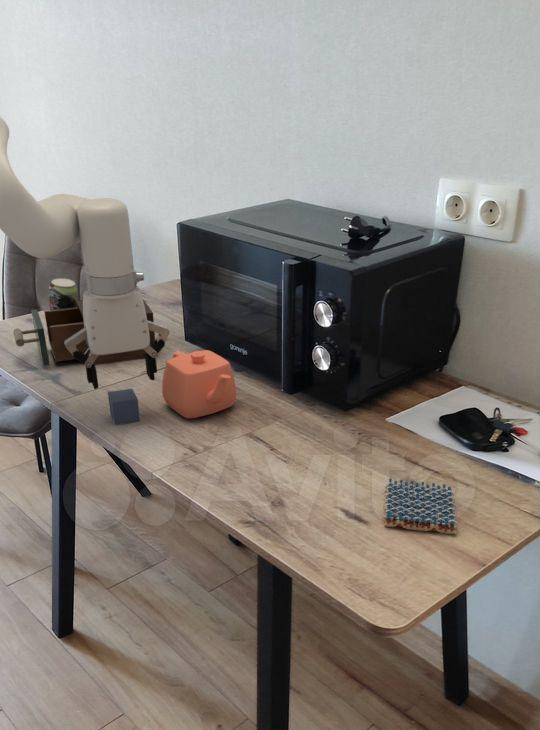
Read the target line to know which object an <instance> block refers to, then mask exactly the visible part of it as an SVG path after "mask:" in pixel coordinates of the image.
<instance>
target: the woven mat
mask: <svg viewBox="0 0 540 730" xmlns="http://www.w3.org/2000/svg"><path fill="white" fill-rule="evenodd" d="M392 481H393V478H388V482H387V483H386V484H385V485H384V489H385V493H384V494H383V496H384V498H385V500H384V503H383V504H382V510H383V511H384V513H383V515H382V519H383V520H384V524H383V525H384V526H383V527H389V528H390V527H391V528H395V527H396V526H397V527H402V528H403V529H406V530H410V531H411V530H412V531H420V532H430V531H434V532H438V533H441V534H447V535H455V536H456V535H457V531H458V530H457V529H455V528H457V527H458V522H459V521H457V519H456V518H457V515H456V514H457V511H456V501H455V498H454V496H455V493H454V490H453V489H452V487H451V486H448V487H447V488H446V486H447V485H446V483H445V484H444V483H443V484H442V488H441V485H437V486H436V483H435V482H432V484H431V486H430V484H429V483H426V485H425V481H421V484H420V486H419V483H418V482H416V483H415V485H414V480H410V484H409V482H408V481H405V482H404V481H403V479H400V480H399V483H398V481H397V480H394V483H393V482H392ZM403 482H404V484H403Z"/></svg>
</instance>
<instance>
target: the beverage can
mask: <svg viewBox="0 0 540 730" xmlns="http://www.w3.org/2000/svg"><path fill="white" fill-rule="evenodd" d="M78 291H79V290H78V287H77V285H76V282H75V281H74V280H72V279H69V278H63V277H60V278H59V277H57V278H53V279H51V283H50V284H49V286H48V310H56V309H65V308H75V307H76V300H78V297H79V295H78V294H79V293H78Z"/></svg>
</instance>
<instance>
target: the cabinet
mask: <svg viewBox="0 0 540 730" xmlns="http://www.w3.org/2000/svg"><path fill="white" fill-rule="evenodd" d="M143 302H144V306H145V311H146V316H147V320H148V321H151V322H154V311H152V309H151V308H150V306H149V305H148V303H146V301H145V300H144V299H143ZM76 307H78V309H79V311H80V313H81V315H82V317H83V298H82V299H77V300H76ZM154 323H155V322H154ZM155 333H156V332H153V331H150V330H149V335H150V344H151V345H152V344H153V342H154V341H155V340H156V334H155ZM88 348H89V346H88ZM145 354H146V351H144V350H143V349H141V350H135V351H128V352H122V353H114V354H107V355H99V356H98V357H97V359H96V360H95V362H94V365H95V366H97V365H103V364H110V363H111V364H112V363H117V362H118V363H119V362H127V361H132V360H134V361H135V360H141V359H145Z"/></svg>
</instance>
